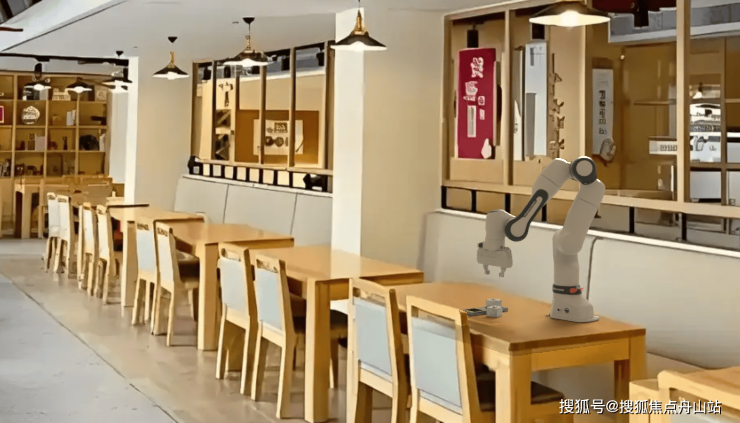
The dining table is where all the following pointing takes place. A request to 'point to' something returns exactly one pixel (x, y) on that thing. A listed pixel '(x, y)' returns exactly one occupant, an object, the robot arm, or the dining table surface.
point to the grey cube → (493, 302)
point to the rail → (480, 311)
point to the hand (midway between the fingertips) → (494, 275)
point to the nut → (494, 311)
